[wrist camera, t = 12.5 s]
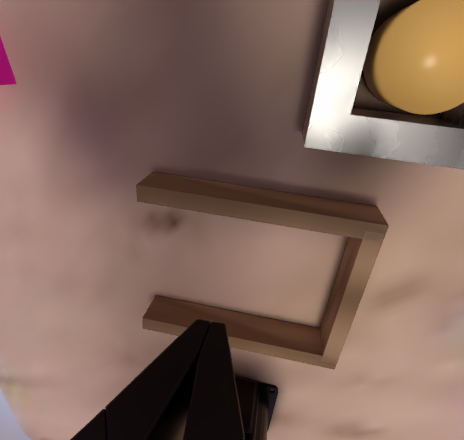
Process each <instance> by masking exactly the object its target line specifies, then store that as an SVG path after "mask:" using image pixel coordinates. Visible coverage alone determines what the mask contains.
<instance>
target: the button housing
mask: <svg viewBox="0 0 464 440" xmlns="http://www.w3.org/2000/svg"><path fill="white" fill-rule="evenodd" d="M379 4H380V0H329V3H328V8H327V13H326V17H325V22H324V27H323V32H322V37H321V42H320V47H319V52H318V57H317V62H316V67H315V72H314V77H313V82H312V87H311V92H310V97H309V102H308V107H307V112H306V117H305V122H304V127H303V132H302V135H303V142H304V147H306V148H314V149H321V150H328V151H335V152H342V153H349V154H356V155H364V156H371V157H378V158H385V159H392V160H399V161H407V162H414V163H421V164H428V165H435V166H442V167H449V168H457V169H464V102H463V103H462V104H460V105H458V106H456V107H454V108H452V109H450V110H447V111H444V112H441V114H440V116H439V118H433V117H425V116H417V115H408V114H400V113H392V112H384V111H376V110H368V109H360V108H352V107H353V103H354V99H355V95H356V91H357V88H358V84H359V80H360V76H361V72H362V69H363V65H364V61H365V57H366V53H367V50H368V46H369V42H370V38H371V35H372V31H373V27H374V23H375V19H376V16H377V12H378V8H379Z"/></svg>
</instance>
